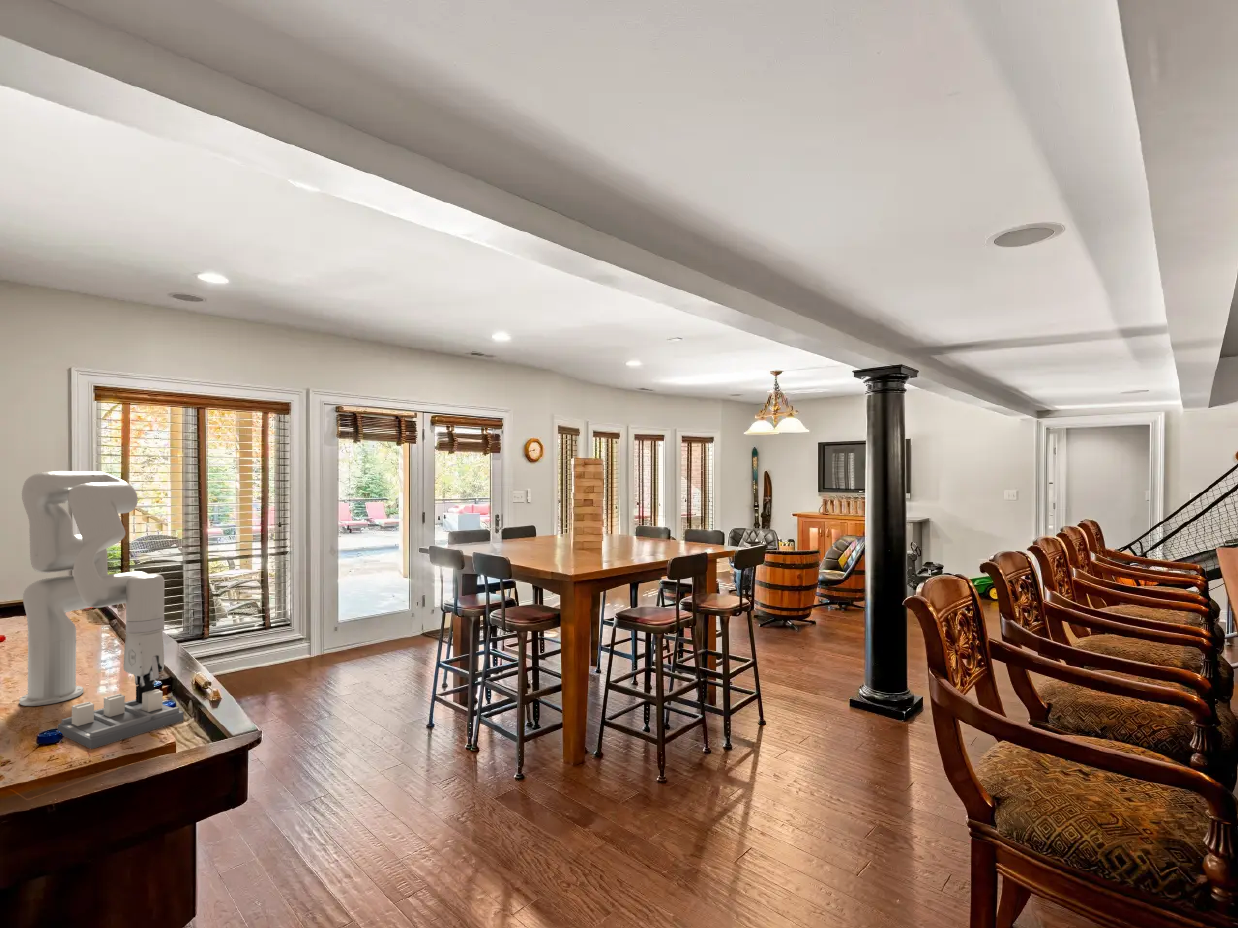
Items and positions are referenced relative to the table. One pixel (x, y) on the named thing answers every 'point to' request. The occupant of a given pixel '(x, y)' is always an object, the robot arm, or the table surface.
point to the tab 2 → (114, 705)
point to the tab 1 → (82, 713)
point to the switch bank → (119, 724)
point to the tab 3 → (152, 700)
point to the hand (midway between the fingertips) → (145, 700)
